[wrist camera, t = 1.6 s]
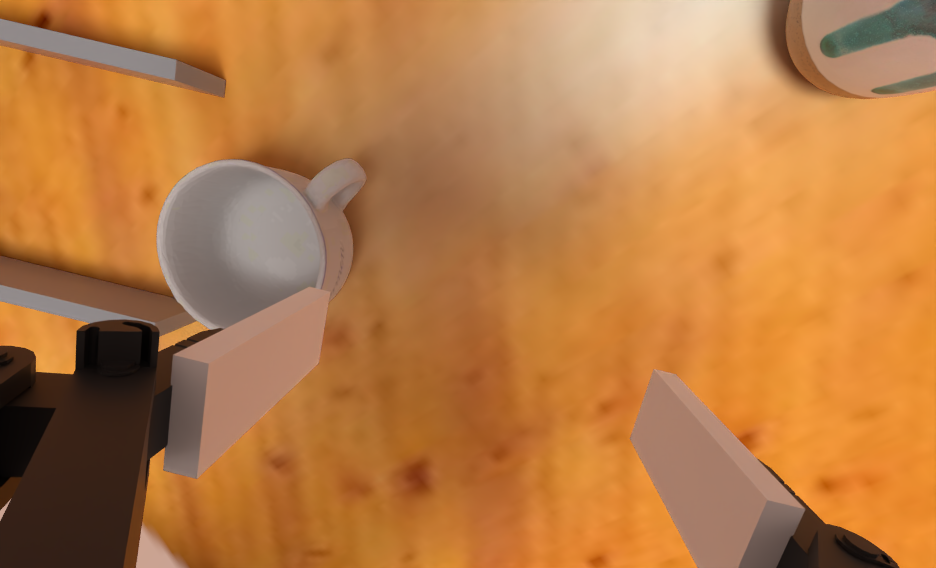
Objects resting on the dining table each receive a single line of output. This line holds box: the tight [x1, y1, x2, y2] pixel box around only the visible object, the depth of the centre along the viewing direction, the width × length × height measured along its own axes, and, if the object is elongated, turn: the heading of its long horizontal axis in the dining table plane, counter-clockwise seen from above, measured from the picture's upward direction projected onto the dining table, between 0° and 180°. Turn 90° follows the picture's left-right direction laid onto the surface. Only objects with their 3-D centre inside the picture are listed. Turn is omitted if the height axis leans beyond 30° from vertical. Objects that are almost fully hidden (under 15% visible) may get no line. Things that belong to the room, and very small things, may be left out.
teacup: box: [157, 158, 367, 330], centre depth 30 cm, size 14×11×8 cm
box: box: [0, 19, 226, 337], centre depth 31 cm, size 18×20×5 cm
